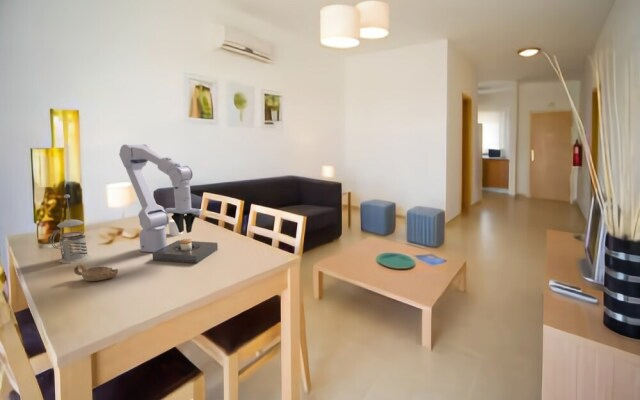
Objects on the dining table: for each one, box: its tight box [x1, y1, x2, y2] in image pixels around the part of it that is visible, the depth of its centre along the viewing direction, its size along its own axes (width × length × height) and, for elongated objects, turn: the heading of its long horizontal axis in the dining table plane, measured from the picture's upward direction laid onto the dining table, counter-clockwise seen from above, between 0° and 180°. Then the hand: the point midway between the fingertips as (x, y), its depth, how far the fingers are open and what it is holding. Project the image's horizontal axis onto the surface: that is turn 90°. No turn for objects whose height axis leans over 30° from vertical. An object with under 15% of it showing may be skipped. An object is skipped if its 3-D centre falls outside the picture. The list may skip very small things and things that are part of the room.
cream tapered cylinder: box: [167, 218, 184, 237], centre depth 154 cm, size 7×7×7 cm
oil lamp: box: [73, 264, 119, 282], centre depth 103 cm, size 13×8×5 cm, turn 90°
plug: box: [179, 238, 192, 250], centre depth 125 cm, size 4×4×6 cm
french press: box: [49, 193, 92, 264], centre depth 118 cm, size 10×12×25 cm
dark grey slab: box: [151, 240, 219, 265], centre depth 125 cm, size 18×16×3 cm
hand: (185, 232), depth 124 cm, fingers open, 3 cm apart
